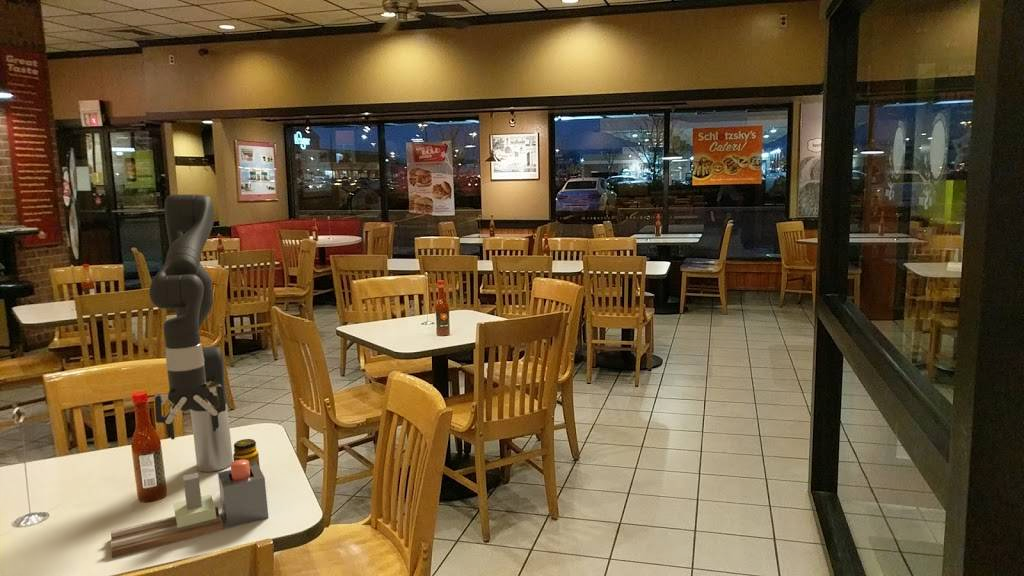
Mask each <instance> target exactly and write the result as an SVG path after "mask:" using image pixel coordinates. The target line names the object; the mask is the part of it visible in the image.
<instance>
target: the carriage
mask: <svg viewBox="0 0 1024 576" xmlns="http://www.w3.org/2000/svg"><path fill="white" fill-rule="evenodd" d="M182 478H183V479H182V480H183V486H184V487H183V488H184V495H185V500H180V501H176V502H173V508H174V516H175V517H176V522H177V528H179V527H184V526H188V525H192V524H196V523H200V522H204V521H208V520H212V519H216V510H215V506H216V505H215V503H214V500H213V497H212V494H206V495H202V493H201V487H200V479H199V474H198V472H195V473H188V474H185V475H183V476H182Z"/></svg>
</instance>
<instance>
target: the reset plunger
mask: <svg viewBox="0 0 1024 576" xmlns="http://www.w3.org/2000/svg"><path fill="white" fill-rule="evenodd" d="M230 470H231V474H232V481H237V480H241V479H245V478H250V468H249V461H248V460H237V461H234V460H233V462H232V463H231V465H230Z"/></svg>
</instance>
